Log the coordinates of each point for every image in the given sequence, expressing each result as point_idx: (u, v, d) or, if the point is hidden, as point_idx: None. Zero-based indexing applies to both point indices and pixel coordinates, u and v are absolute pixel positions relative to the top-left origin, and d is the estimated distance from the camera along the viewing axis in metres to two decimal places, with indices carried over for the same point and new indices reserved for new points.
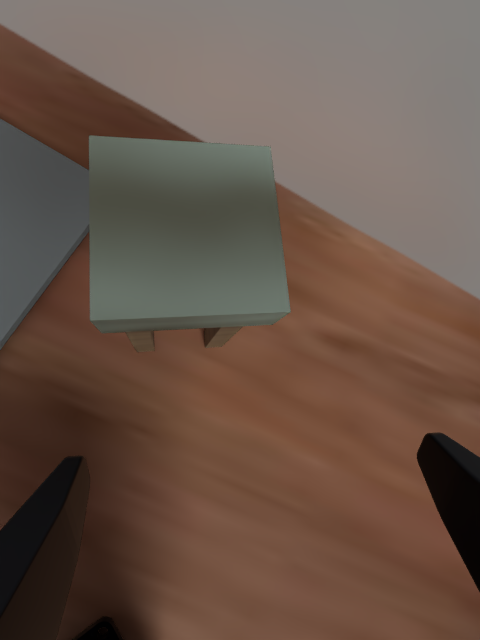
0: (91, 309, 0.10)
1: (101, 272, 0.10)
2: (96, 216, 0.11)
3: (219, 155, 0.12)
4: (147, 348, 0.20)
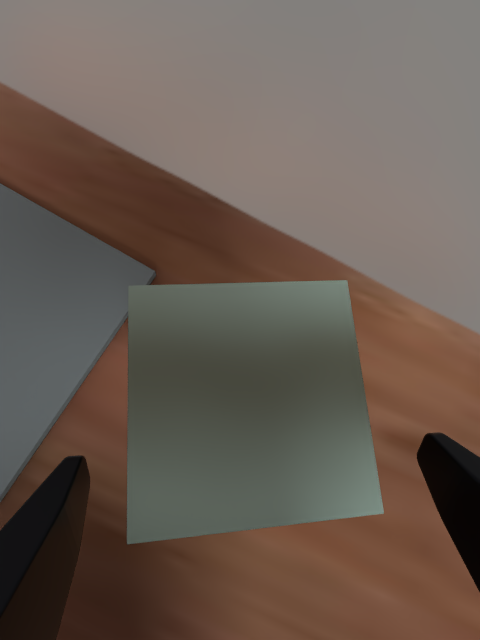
0: (128, 527, 0.08)
1: (141, 472, 0.08)
2: (136, 393, 0.09)
3: (285, 298, 0.10)
4: None
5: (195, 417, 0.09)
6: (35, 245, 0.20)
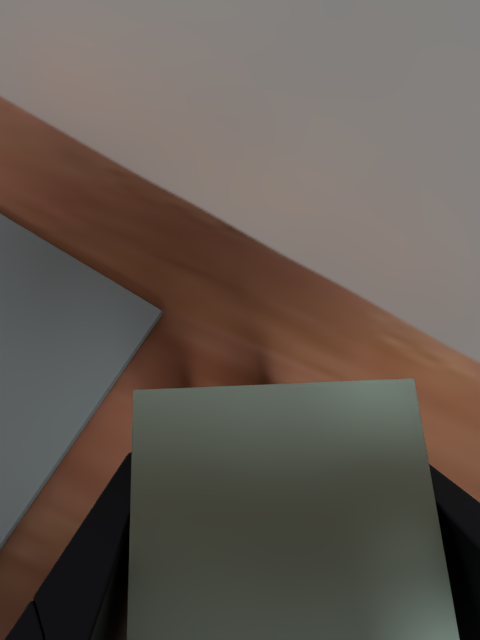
0: None
1: None
2: (140, 547, 0.06)
3: (336, 404, 0.08)
4: None
5: (219, 581, 0.06)
6: (27, 280, 0.18)
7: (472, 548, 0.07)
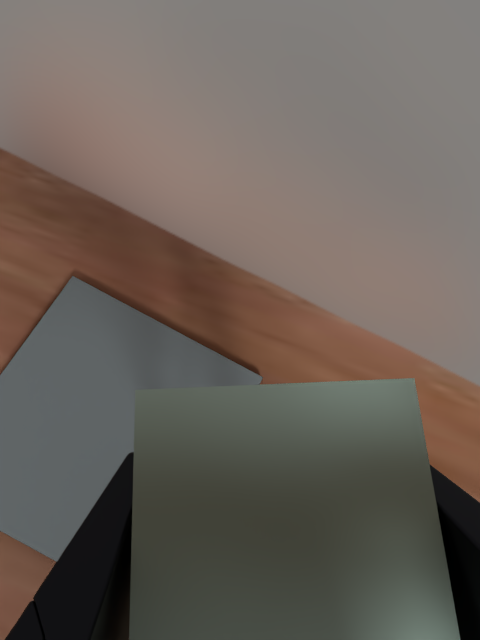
0: None
1: None
2: (142, 546, 0.06)
3: (337, 404, 0.08)
4: None
5: (221, 580, 0.06)
6: (158, 360, 0.23)
7: (472, 548, 0.07)
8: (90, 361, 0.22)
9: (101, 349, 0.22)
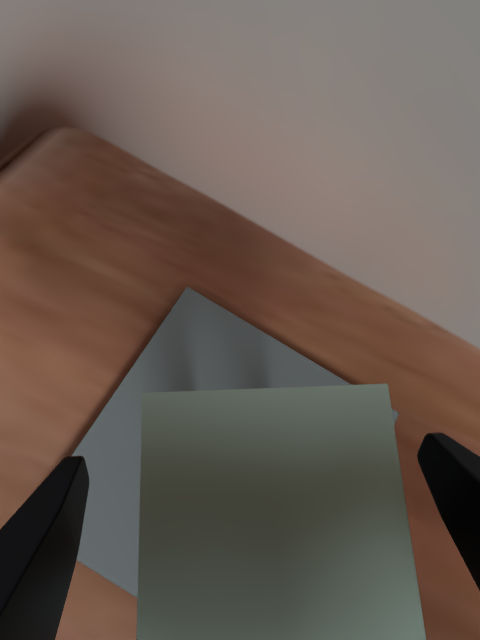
0: None
1: (153, 628, 0.07)
2: (149, 527, 0.07)
3: (319, 406, 0.09)
4: None
5: (216, 556, 0.08)
6: (283, 387, 0.20)
7: None
8: (210, 386, 0.19)
9: (221, 372, 0.20)
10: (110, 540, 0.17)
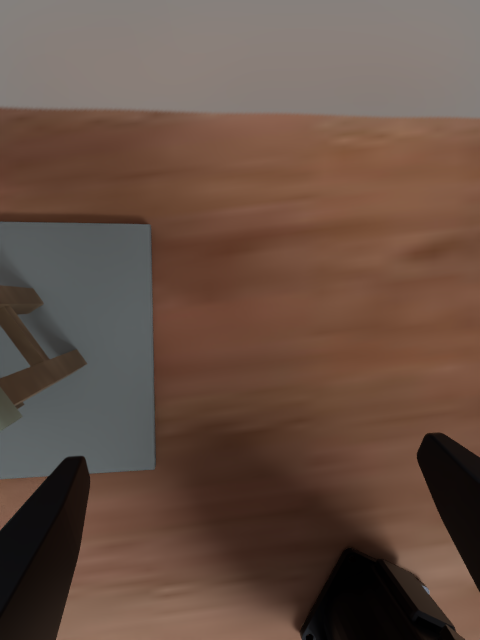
0: None
1: None
2: None
3: None
4: None
5: None
6: (29, 262, 0.19)
7: None
8: None
9: None
10: None
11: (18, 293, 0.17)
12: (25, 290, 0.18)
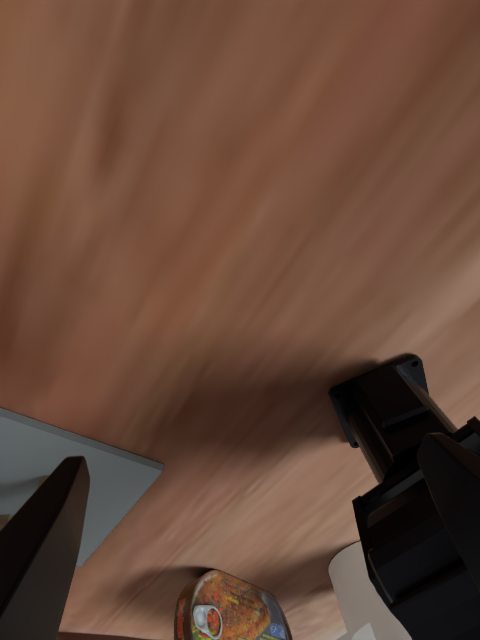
0: None
1: None
2: None
3: None
4: None
5: None
6: None
7: None
8: None
9: None
10: (83, 540, 0.29)
11: None
12: None
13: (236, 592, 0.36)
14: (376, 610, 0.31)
